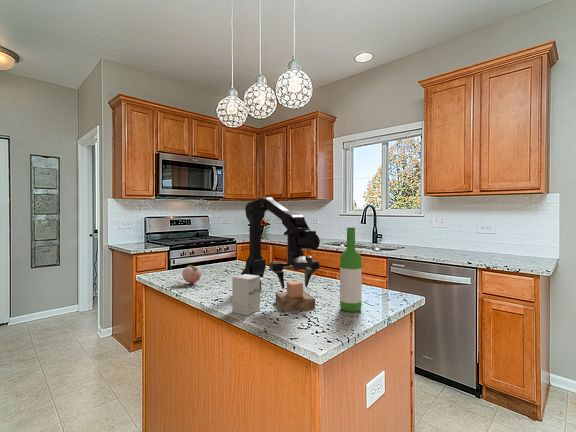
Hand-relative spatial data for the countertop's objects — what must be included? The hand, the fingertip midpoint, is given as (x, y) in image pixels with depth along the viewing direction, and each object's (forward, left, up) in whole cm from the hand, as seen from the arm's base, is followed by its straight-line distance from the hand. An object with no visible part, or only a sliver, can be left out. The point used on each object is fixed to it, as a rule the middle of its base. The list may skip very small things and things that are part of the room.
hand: (294, 288), depth 123 cm
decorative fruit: (-38, +46, -7) cm, 60 cm away
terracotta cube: (0, 0, -3) cm, 3 cm away
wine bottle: (+18, -11, -7) cm, 22 cm away
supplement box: (-19, -2, -7) cm, 20 cm away
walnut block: (0, 0, -7) cm, 7 cm away
